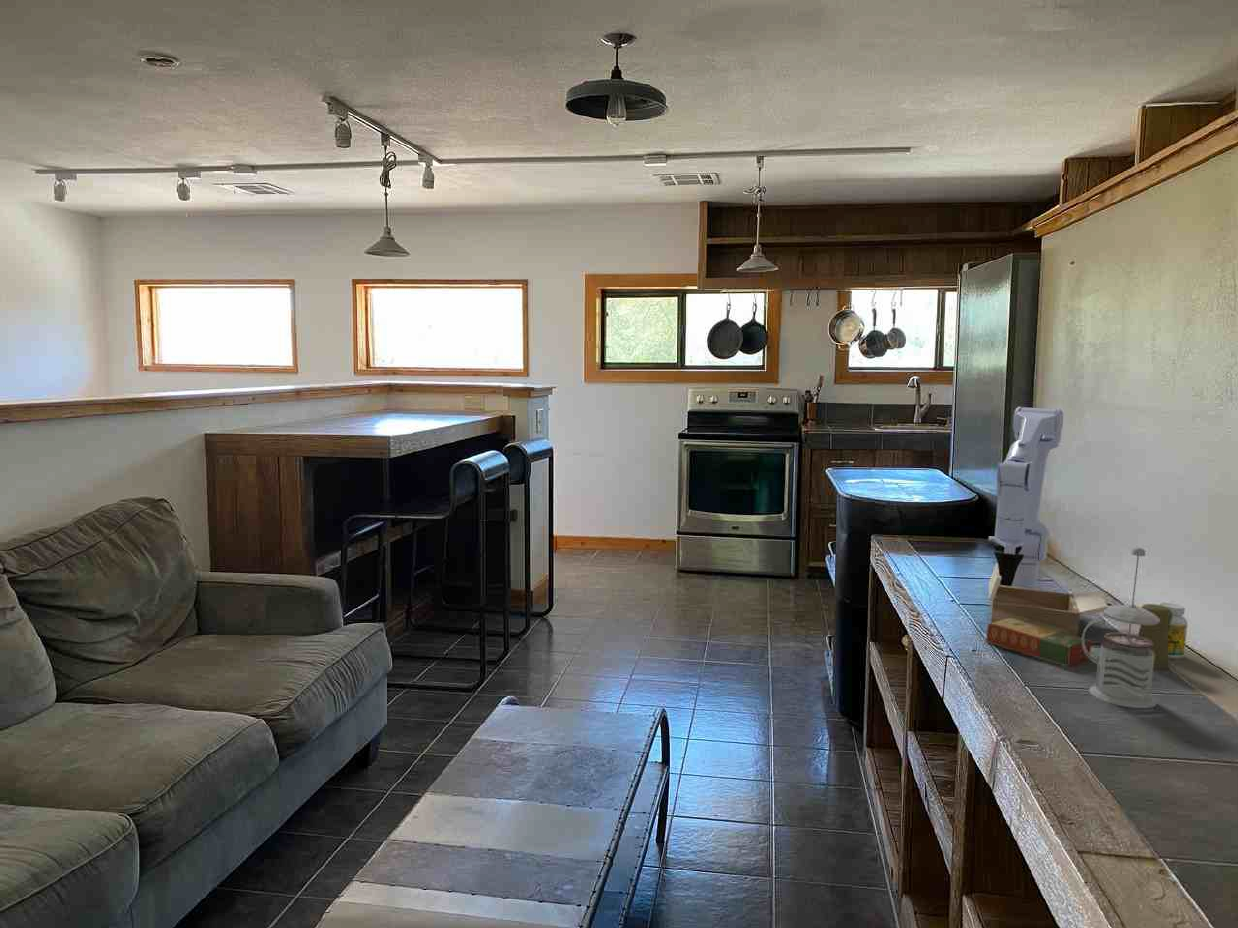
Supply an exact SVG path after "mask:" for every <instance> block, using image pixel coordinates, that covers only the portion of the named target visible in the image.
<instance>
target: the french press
mask: <svg viewBox="0 0 1238 928" xmlns="http://www.w3.org/2000/svg"><path fill="white" fill-rule="evenodd" d="M1131 555H1133V556H1137V557H1136V566H1135V575H1134V584H1133V592H1132V600H1131V604H1118V605H1114V606H1111V607H1107V608H1108V609H1105V610H1104V611H1103V613H1104V616H1105V617H1107V618H1109V619H1110V620H1115V621H1118V622H1121V623H1126V624H1129V625H1128V626H1129V627H1128V632H1127V633H1124V632H1107V633H1105V634H1104V635H1103V637H1104V639H1105V640H1106V641H1103V642H1102V643H1101V644H1100V645H1101V646H1100V652H1099V653H1100V654H1099V658H1096V657H1095V656H1094V655H1092V654H1091V652H1090V653H1089V652H1088V651H1087V648H1086V646H1085V642H1084V641H1085V639H1086V638H1085V637H1086V636H1085V635H1086V632H1087V630H1088V629H1089V628H1090V626H1092V625H1093V624H1095V623H1099V622H1101V628H1102V629H1104V628H1105V624H1106V620H1105V618H1103V617H1097V618H1094V619H1093V620H1091V621H1089V622H1088V623H1087V624H1086V626H1085V627H1084V629H1083V632H1082V634H1081V638H1082V647H1083V650H1084V653H1085V654H1086V655H1087V656H1088V658H1089V659H1088V660H1091V661H1092V662H1094V663H1095V664H1096V665H1097V669H1096V679H1095V681H1096V682H1095V684H1093V686H1091V687H1090V688H1089V689H1088V691H1089V693H1090V694H1091V695H1092V696H1093V697H1095V698H1097V699H1099V700H1101V701H1103V702H1106V703H1110V704H1113V705H1116V706H1117V705H1118V706H1122V707H1126V708H1127V707H1128V708H1134V709H1148V708H1153V707H1155V706H1156V705H1157V701H1156V700H1155V698H1154V697H1153V696H1152V695H1151V690H1152V683H1153V681H1152V680H1153V674H1154V673H1153V672H1154V669H1153V666H1154V657H1155V653H1154V651H1153V650H1151V649H1149V648H1151V647H1152V646H1153V645H1154V643H1153V642H1152V641H1150V640H1148V639H1147V638H1143V637H1141V636H1140V637H1139V636H1138V634H1137V635H1135V634H1131V630H1132V625H1138V626H1141V625H1149V626H1150V625H1156V624H1158V623H1159V622H1160V619H1159V618H1158V617H1157V616H1156V615H1155V614H1153V613H1151V612H1149V611H1147V610H1145V609H1143V608H1141V607H1142V606H1138V605H1137V606H1136V605H1135V604H1134V603H1135V602H1134V601H1135V593H1136V587H1137V584H1136V583H1137V575H1138V567H1139V559H1140V557H1144V556H1145V557H1146V550H1145V549H1143V548H1142V547H1134V548H1133V549H1132V551H1131ZM1115 648H1123V649H1126V650H1128V651H1130V652H1131V653H1132V654H1133V653H1134V654H1136V655H1137V656H1133V655H1132V654H1130V653H1128V652H1125V651H1122V650H1117V651H1114V650H1112V649H1115ZM1085 650H1086V651H1085ZM1086 652H1087V653H1088V654H1089V655H1090V656H1089V655H1088V654H1087V653H1086ZM1108 659H1109V660H1108ZM1120 663H1121V664H1120ZM1125 665H1126V666H1125ZM1128 666H1129V667H1128ZM1132 669H1133V670H1132ZM1118 670H1119V671H1118ZM1147 670H1148V672H1145V671H1147ZM1121 671H1122V672H1121ZM1124 672H1125V673H1127V674H1125V673H1124ZM1128 674H1129V675H1130V676H1129V675H1128ZM1131 676H1132V677H1131ZM1145 678H1146V679H1145ZM1145 686H1146V687H1145Z"/></svg>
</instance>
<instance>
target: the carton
mask: <svg viewBox="0 0 1238 928" xmlns="http://www.w3.org/2000/svg"><path fill="white" fill-rule="evenodd" d="M1084 642H1085V646H1086V648H1087V651H1088V652H1089V653H1090V654H1091V646H1092V643H1091V642H1092V641H1091V640H1090V639H1087V638H1085V641H1084ZM986 643H989V644H991V645H995V646H998V647H1002V648H1005V649H1007V650H1011V649H1013V650H1012V651H1014V650H1016V651H1015V652H1017V651H1020V652H1022V654H1024V653H1026V654H1025V655H1027V654H1028V656H1030V655H1032V656H1031V657H1033V656H1034V657H1033V658H1037V659H1041V660H1043V661H1047V662H1049V663H1053V664H1055V665H1059V666H1062V667H1067V668H1070V667H1072V666H1075V665H1078V664H1080V663H1083V662H1085V661H1088V660H1090V659H1089V658H1088V656H1087V655H1086V654H1085V653H1084V650H1083V647H1082V637H1080V636H1078V637H1077V636H1073V635H1070V634H1066V633H1063V632H1059V631H1056V630H1052V629H1048V628H1045V627H1041V626H1038V625H1034V624H1031V623H1027V622H1024V621H1020V620H1017V619H1013V618H1008V619H1003V620H999V621H996V622H992V623H991V622H989V623H988V625H987V632H986ZM1085 651H1086V650H1085ZM1020 652H1019V653H1020ZM1086 653H1087V652H1086ZM1087 654H1088V653H1087ZM1088 655H1089V654H1088ZM1089 657H1091V656H1090V655H1089Z"/></svg>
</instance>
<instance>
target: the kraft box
mask: <svg viewBox="0 0 1238 928" xmlns="http://www.w3.org/2000/svg"><path fill="white" fill-rule="evenodd" d="M1073 595H1074V594H1072V593H1066V592H1065V593H1064V592H1057V591H1056V592H1055V591H1048V590H1047V591H1046V590H1041V589H1036V590H1033V589H1025V588H1017V587H1008V586H1002V585H1001V584H999V587H998V589H997V592H996V595H995V597H994V600H993V601H992V600H990V604H989V605H990V606H989V609H990V611H989V612H990V623H992V622H996V621H999V620H1003V619H1008V618H1013V619H1017V620H1020V621H1024V622H1027V623H1031V624H1034V625H1038V626H1041V627H1045V628H1048V629H1052V630H1056V631H1059V632H1063V633H1066V634H1070V635H1073V636H1077V637H1079V635H1078V634H1079V627H1080V626H1079V625H1080V617H1081V615H1080V612H1079V609H1078V607H1077V604H1076V601H1075V599H1074V596H1073Z"/></svg>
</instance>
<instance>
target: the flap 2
mask: <svg viewBox="0 0 1238 928" xmlns="http://www.w3.org/2000/svg"><path fill="white" fill-rule="evenodd" d="M1073 596H1074V599H1075V602H1076V604H1077V607H1078V609H1079V612H1080V617H1083V616H1087V615H1093V614H1097V613H1101V612H1102V613H1104V610H1105V609H1108V608H1109V607H1108V606H1107V604H1106V602H1105V600H1104V598H1103V596H1102V594H1101V591H1100V590H1099V588H1097V589H1092V590H1088V591H1083V592H1079V593H1075V594H1073Z"/></svg>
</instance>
